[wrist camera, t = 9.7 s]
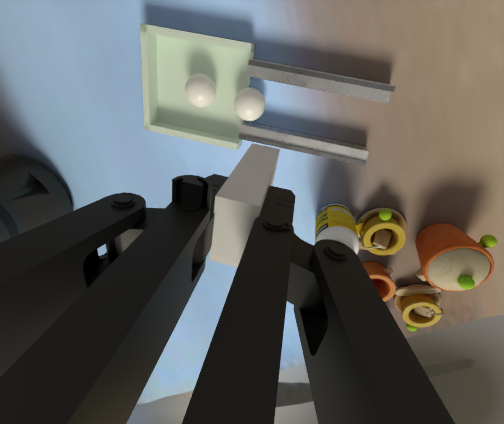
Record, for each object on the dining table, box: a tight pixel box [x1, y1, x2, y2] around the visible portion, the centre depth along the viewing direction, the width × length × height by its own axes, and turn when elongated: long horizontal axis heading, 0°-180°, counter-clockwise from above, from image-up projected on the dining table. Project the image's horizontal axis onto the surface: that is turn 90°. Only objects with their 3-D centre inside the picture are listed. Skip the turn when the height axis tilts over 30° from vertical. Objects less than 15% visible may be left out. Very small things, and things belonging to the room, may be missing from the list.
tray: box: [140, 23, 255, 150], centre depth 34 cm, size 13×12×2 cm
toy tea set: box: [356, 208, 497, 331], centre depth 39 cm, size 26×16×10 cm, turn 2°
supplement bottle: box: [315, 204, 360, 254], centre depth 36 cm, size 5×5×10 cm
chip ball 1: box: [185, 73, 216, 107], centre depth 33 cm, size 4×4×4 cm
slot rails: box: [239, 59, 395, 166], centre depth 33 cm, size 16×9×2 cm, turn 81°
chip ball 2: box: [234, 88, 265, 121], centre depth 33 cm, size 4×4×4 cm
